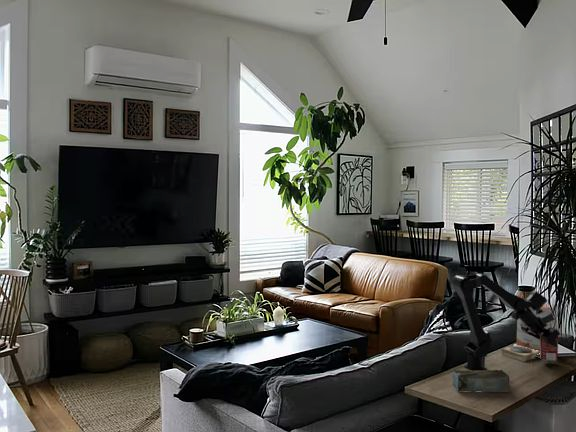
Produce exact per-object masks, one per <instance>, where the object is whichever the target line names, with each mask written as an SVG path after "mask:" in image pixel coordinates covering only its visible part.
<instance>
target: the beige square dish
mask: <svg viewBox="0 0 576 432" xmlns="http://www.w3.org/2000/svg"><path fill="white" fill-rule="evenodd" d="M539 353H540V351H536V350H533V349H530V348H526V347H523V346H520V345H517V344H516V345H512V346H507V347H504V348H501V355H503V356H506V357H508V358H511V359H515V360H518V361H520V362H526V361H530V360H533V359H536V358H535V356H536V355H537V354H539Z"/></svg>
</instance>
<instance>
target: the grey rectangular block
mask: <svg viewBox="0 0 576 432" xmlns="http://www.w3.org/2000/svg"><path fill="white" fill-rule="evenodd" d="M452 386H453V387H454V388H456V389H457V390H456V389H455V390H456V391H457V392H458V393H460V392H459V391H471V392H470V393H477V392H476V391H482V392H481V393H509V392H510V375H508V374H507V373H506V372H505V371H503V369H500V370H499V369H493V370H492V369H489V370H488V369H487V370H478V371H477V370H475V371H472V370H470V369H467V370H457V369H454V370H452Z"/></svg>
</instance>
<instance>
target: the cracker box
mask: <svg viewBox="0 0 576 432" xmlns="http://www.w3.org/2000/svg"><path fill="white" fill-rule="evenodd" d="M529 309H530V308H529ZM530 310H531V309H530ZM541 310H542V311H543V310H547V311H550V312H552V308H551V307H550V306H546V305H543V306H542V307H541ZM531 311H532V310H531ZM532 312H533V313H534V314H535V315H536V310H535V311H532ZM516 321H517V322H516V345H520V346H523V347H527V348H530V349H534V350H538V351H540V340H539V339H537V338H535V337H533V336H531V335H529V334H528V333H525V332H523V331H522V330H521V326H522V325H523V322H522V321H521V320H520V319H518V320H516ZM551 322H552V321H550V322H548V323H546V324H547V326H546V327H544V328H546V329H548V328H551Z"/></svg>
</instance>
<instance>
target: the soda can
mask: <svg viewBox="0 0 576 432" xmlns="http://www.w3.org/2000/svg"><path fill="white" fill-rule="evenodd" d="M542 335H543V334H542V333H541V335H540V357H539V359H541V360H542V361H544V362H547V363H555V362H557V361H558V355H559V351H558V350H559V344H558V343H559V336H558V337H557V338H556V342H557V344H558V346H557V347H554V346H552V345H550V344H548V343H546V342H544V341H543V339H542Z"/></svg>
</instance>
